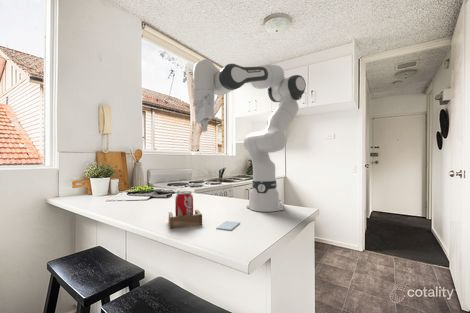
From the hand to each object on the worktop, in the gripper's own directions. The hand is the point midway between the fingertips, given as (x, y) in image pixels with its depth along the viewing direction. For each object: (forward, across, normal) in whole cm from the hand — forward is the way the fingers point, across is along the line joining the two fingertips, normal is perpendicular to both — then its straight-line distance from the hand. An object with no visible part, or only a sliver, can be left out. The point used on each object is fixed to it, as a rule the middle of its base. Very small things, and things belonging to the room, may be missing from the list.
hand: (204, 131), depth 96 cm
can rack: (+37, -3, +9) cm, 38 cm away
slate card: (+38, -13, -6) cm, 40 cm away
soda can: (+37, -1, +9) cm, 38 cm away
